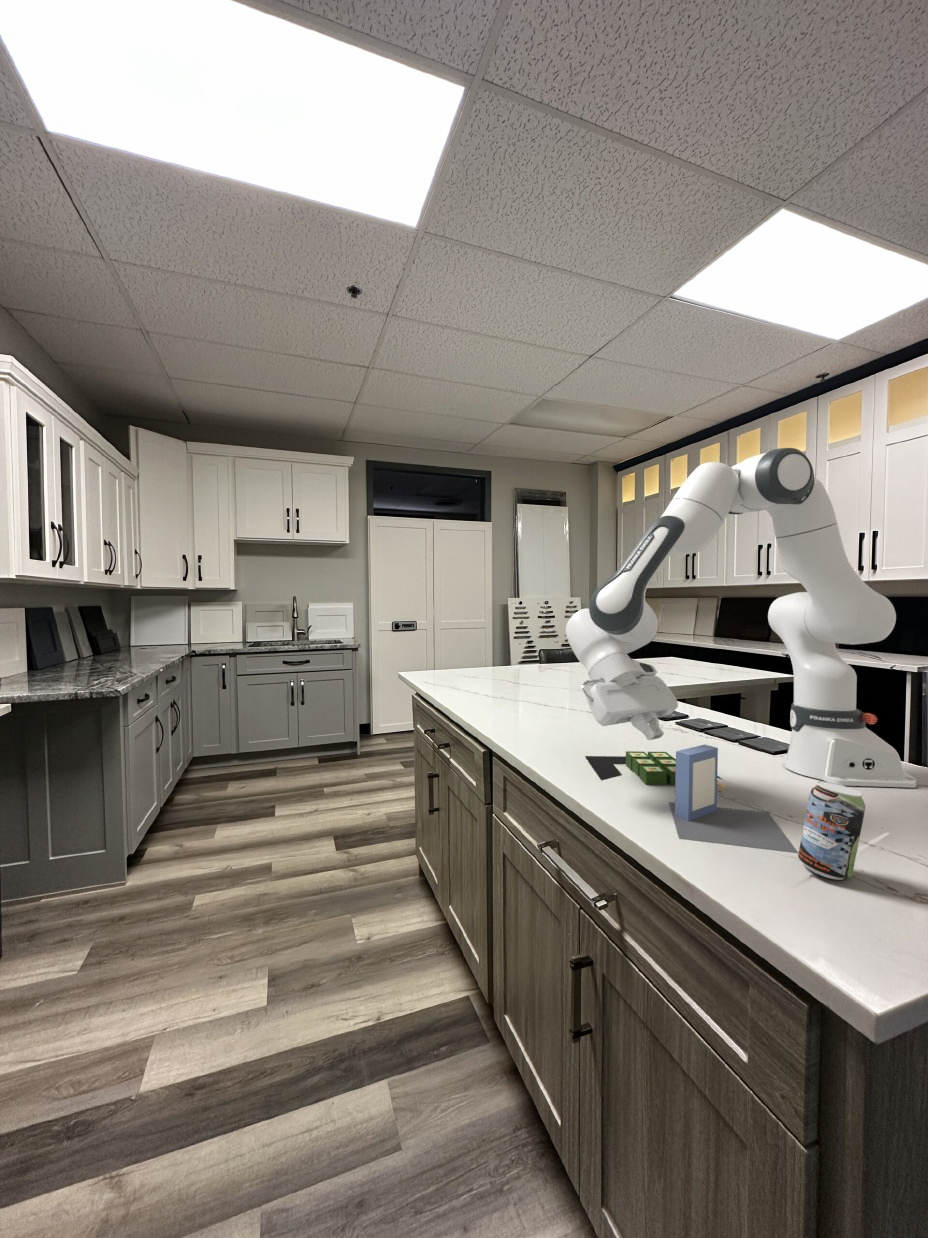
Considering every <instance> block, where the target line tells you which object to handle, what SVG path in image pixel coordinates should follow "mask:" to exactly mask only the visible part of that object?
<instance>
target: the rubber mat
mask: <svg viewBox="0 0 928 1238" xmlns="http://www.w3.org/2000/svg"><path fill="white" fill-rule="evenodd" d="M668 804H669V808H670V811H671V815H672V818H673V822H674V826H675V829H676V833H677V835H678V839H679V840H686V841H687V840H688V841H694V842H695V841H696V842H702V843H709V844H718V845H727V846H736V847H745V848H752V849H753V848H754V849H761V850H767V851H768V850H769V851H777V852H785V853H793V854H798V853H799V850H797V849H796V847H795V846H794V845H793V843H792V842H791V841H790V839H789V838H788V837H787V835H786V834H785V832H784V831H783V830H782V828H781V827H780V826H779V824H778V823H777V822H776V820H775V819H774V818H773V816H772V815H771V814H770V813H769V812H768V811H761V810H760V811H759V810H753V809H752V810H750V809H741V808H731V807H721V806H717V811H715V812H712V813H709V814H706V815H704V816H701V817H698V818H695V819H693V820H690V821H687V820H684V819H682V818H680V817H677V816H675V801H674V802H671V801H668Z"/></svg>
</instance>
